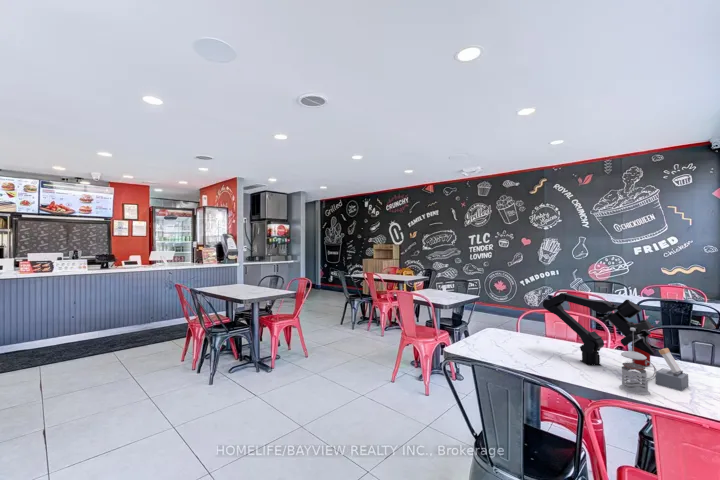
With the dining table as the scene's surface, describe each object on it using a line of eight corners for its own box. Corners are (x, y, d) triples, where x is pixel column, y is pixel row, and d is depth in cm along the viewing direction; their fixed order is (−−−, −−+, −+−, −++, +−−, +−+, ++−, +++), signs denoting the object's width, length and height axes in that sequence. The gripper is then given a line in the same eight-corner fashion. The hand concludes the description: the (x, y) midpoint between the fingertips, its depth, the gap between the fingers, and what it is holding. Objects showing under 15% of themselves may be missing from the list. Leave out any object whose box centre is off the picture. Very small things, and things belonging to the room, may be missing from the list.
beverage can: (643, 362, 162) (642, 338, 162) (654, 367, 155) (653, 342, 156) (628, 361, 163) (628, 338, 163) (639, 366, 156) (638, 341, 156)
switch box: (655, 384, 135) (655, 369, 135) (662, 379, 140) (662, 365, 140) (681, 391, 128) (681, 375, 128) (688, 386, 133) (688, 371, 133)
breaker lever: (674, 375, 131) (658, 350, 136) (678, 373, 134) (662, 348, 139) (679, 374, 130) (663, 349, 134) (683, 372, 133) (667, 347, 137)
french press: (616, 383, 136) (615, 323, 136) (652, 389, 130) (651, 327, 131) (621, 391, 127) (619, 328, 128) (660, 398, 121) (658, 332, 122)
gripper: (628, 315, 139) (663, 347, 130) (644, 311, 149) (678, 341, 139) (607, 330, 146) (639, 361, 136) (624, 325, 156) (654, 354, 146)
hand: (653, 354), depth 139 cm, fingers closed
